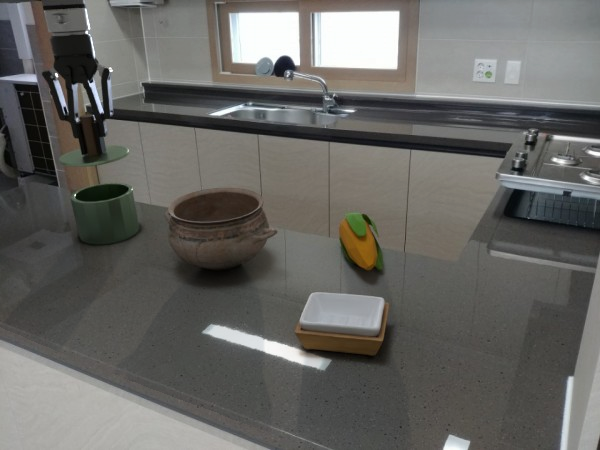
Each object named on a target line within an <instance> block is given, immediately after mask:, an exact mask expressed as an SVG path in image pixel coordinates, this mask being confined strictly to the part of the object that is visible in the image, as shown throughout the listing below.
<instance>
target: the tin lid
mask: <svg viewBox="0 0 600 450" xmlns="http://www.w3.org/2000/svg"><path fill="white" fill-rule="evenodd" d="M79 118H80V119H79V121H80V122H81V127H82V131H83V136H84V141H85V146H86V151H87V154H86V155H82V153H81V149H80V148H78V149H74V150H71V151H68V152H66V153H64V154H62V155H61V156H60V157H59V158H58V160H59V163H60V164H61V165H63V166H65V167H75V168H76V167H96V166H102V165H106V164H110V163H114V162H117V161H120V160H123V159H125V158H126V157H127V156H129V154H130V149H129V148H128V147H126V146H122V145H114V144H110V145H106V144H105V146H106V151H105V152H104V153H103V154H99V152H98V147H97V142H96V137H95V132H94V127H93V122H95V120H96V119H95V116H94V114H83V115H79Z"/></svg>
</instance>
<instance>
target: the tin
mask: <svg viewBox="0 0 600 450" xmlns="http://www.w3.org/2000/svg"><path fill="white" fill-rule="evenodd" d="M70 203H71V207H72V212H73V215H74V221H75V225H76V229H77V233H78V238H79V239H80V241H81V242H83V243H85V244H88V245H96V246H98V245H100V246H102V245H110V244H115V243H119V242H122V241H125V240H128V239H130V238H132V237H134V236H135V235H136V234H137V233H138V232H139V230H140V225H139V224H140V223H139V218H138V213H137V207H136V201H135V195H134V191H133V186H131V185H130V184H128V183H122V182H105V183H97V184H92V185H89V186H85V187H83V188H79V189H78V190H76V191H74V192H73V193H72V194H71V195H70Z"/></svg>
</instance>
